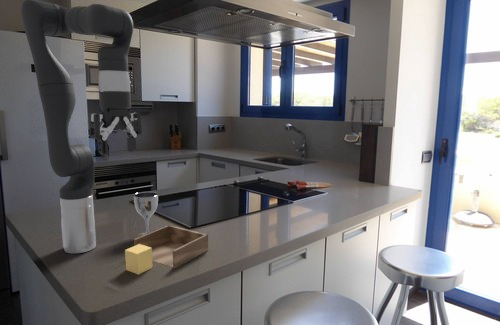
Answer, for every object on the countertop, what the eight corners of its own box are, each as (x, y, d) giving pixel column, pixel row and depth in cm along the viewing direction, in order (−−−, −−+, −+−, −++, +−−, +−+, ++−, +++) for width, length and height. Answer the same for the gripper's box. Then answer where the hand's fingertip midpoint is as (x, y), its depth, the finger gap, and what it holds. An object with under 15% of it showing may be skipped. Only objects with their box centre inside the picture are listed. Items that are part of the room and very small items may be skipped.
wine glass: (161, 231, 128) (160, 191, 125) (156, 240, 120) (154, 197, 117) (139, 231, 127) (137, 191, 125) (133, 240, 120) (130, 197, 117)
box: (134, 256, 107) (133, 239, 106) (169, 240, 119) (169, 224, 118) (175, 270, 98) (174, 251, 97) (208, 251, 111) (208, 234, 110)
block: (126, 270, 97) (125, 249, 96) (140, 263, 101) (139, 243, 100) (138, 275, 95) (137, 254, 94) (152, 267, 99) (151, 247, 98)
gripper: (127, 91, 97) (130, 149, 100) (79, 89, 85) (84, 155, 88) (146, 90, 93) (149, 151, 96) (99, 88, 81) (103, 158, 84)
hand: (118, 153), depth 92 cm, fingers open, 8 cm apart
